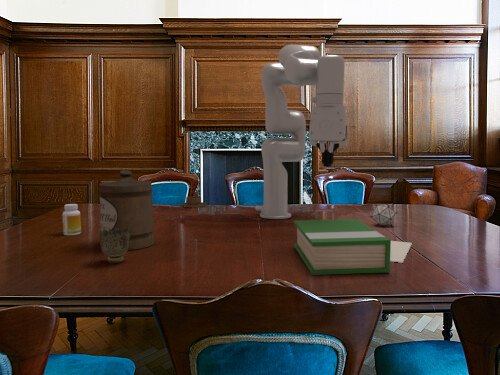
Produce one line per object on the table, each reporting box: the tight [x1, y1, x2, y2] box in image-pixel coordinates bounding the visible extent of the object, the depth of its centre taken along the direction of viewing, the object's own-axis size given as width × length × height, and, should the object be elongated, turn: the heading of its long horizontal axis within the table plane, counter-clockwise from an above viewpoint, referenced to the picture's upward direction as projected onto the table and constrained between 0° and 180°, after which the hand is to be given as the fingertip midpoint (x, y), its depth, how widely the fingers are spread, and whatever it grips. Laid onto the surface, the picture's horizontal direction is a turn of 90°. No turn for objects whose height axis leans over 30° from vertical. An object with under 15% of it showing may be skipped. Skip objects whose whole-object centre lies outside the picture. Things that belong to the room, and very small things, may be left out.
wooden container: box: [98, 168, 155, 251], centre depth 119 cm, size 15×15×22 cm
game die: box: [369, 202, 399, 227], centre depth 147 cm, size 9×8×10 cm
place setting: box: [180, 190, 213, 209], centre depth 199 cm, size 18×20×6 cm
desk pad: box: [390, 240, 413, 264], centre depth 114 cm, size 20×22×1 cm
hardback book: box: [293, 218, 392, 276], centre depth 103 cm, size 18×7×24 cm
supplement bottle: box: [62, 203, 82, 236], centre depth 134 cm, size 5×5×10 cm
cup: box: [98, 228, 130, 264], centre depth 102 cm, size 8×7×8 cm
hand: (327, 166), depth 118 cm, fingers closed
